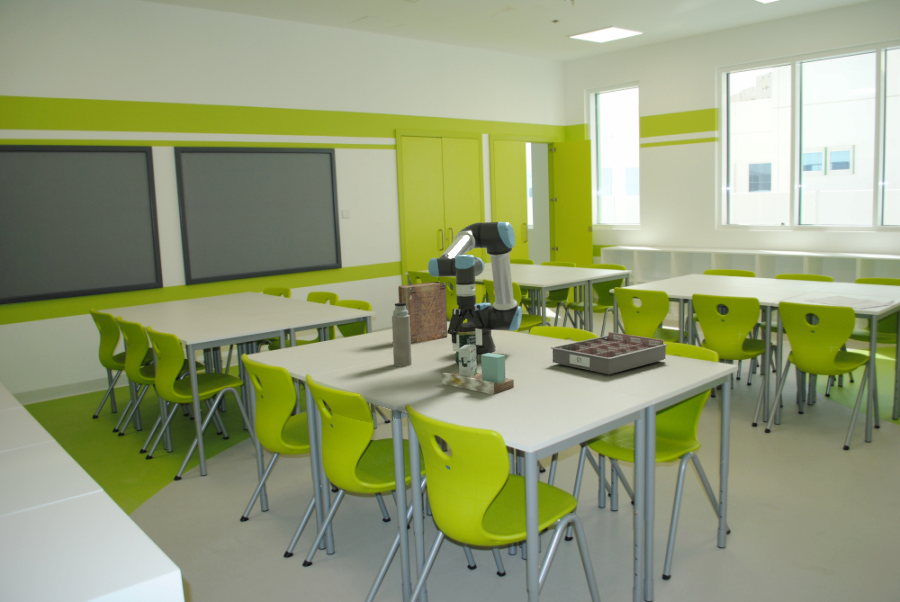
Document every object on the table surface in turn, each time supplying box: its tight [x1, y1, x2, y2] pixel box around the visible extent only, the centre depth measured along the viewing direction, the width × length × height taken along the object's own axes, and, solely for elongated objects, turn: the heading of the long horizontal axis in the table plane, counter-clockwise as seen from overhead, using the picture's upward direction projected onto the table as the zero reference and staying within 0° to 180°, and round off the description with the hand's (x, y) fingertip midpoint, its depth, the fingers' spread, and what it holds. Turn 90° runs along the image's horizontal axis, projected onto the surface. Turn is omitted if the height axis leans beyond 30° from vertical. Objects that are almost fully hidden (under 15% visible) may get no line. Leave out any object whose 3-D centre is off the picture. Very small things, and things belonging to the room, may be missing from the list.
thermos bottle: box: [391, 302, 412, 367], centre depth 297 cm, size 8×8×28 cm
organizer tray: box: [550, 331, 668, 375], centre depth 288 cm, size 32×40×10 cm
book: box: [398, 281, 448, 345], centre depth 355 cm, size 25×9×30 cm, turn 130°
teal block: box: [480, 352, 506, 384], centre depth 253 cm, size 8×4×10 cm, turn 47°
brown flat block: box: [441, 371, 515, 395], centre depth 258 cm, size 26×13×4 cm, turn 47°
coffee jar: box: [455, 321, 479, 365], centre depth 296 cm, size 10×8×19 cm
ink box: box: [458, 345, 478, 378], centre depth 261 cm, size 9×5×12 cm, turn 161°
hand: (467, 348), depth 261 cm, fingers open, 13 cm apart
